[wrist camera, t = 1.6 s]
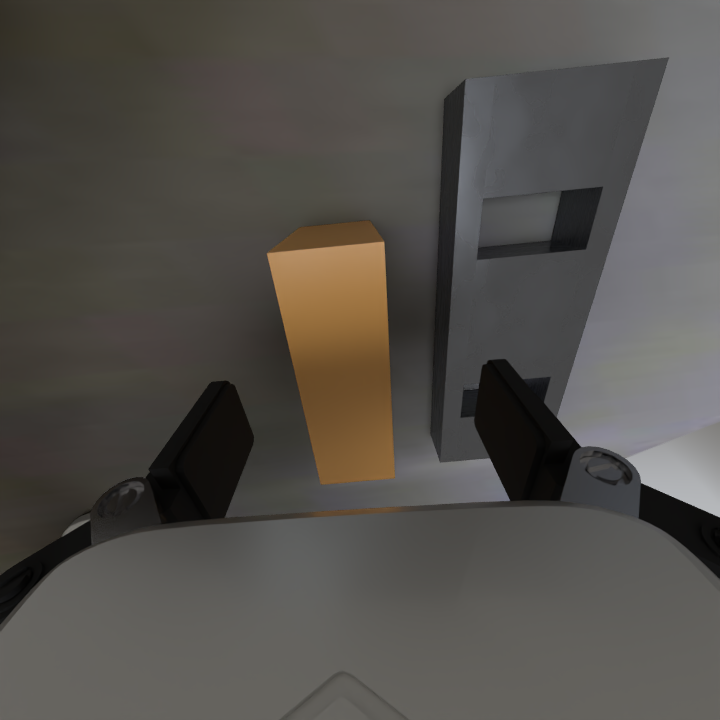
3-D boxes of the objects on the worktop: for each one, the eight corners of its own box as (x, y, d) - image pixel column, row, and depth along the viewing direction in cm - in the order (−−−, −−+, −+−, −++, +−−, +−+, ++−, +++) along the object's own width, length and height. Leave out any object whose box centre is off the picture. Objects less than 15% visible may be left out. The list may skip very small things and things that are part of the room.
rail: (525, 425, 25) (545, 453, 23) (430, 434, 25) (440, 462, 23) (610, 81, 14) (669, 57, 12) (444, 98, 14) (465, 79, 12)
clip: (380, 391, 23) (394, 478, 16) (329, 395, 23) (321, 484, 16) (369, 220, 17) (384, 241, 10) (300, 227, 17) (266, 253, 10)
